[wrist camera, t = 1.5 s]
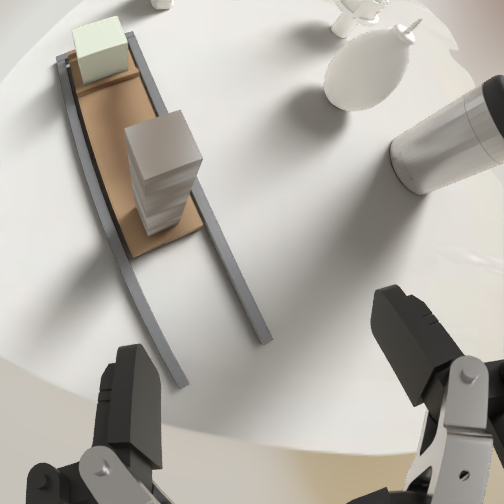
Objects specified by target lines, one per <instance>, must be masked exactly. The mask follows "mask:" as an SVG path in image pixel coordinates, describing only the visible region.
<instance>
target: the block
mask: <svg viewBox="0 0 504 504" xmlns="http://www.w3.org/2000/svg"><path fill="white" fill-rule="evenodd" d="M72 34H73V39H74V45H75V50H76V55H77V60H78V64H79V68H80V72H81V76H82V79H83V83H84V86H86V85H89V84H91V83H94V82H97V81H100V80H103V79H105V78H108V77H111V76H114V75H117V74H120V73H123V72H127V71H128V41H127V39H126V36H125V34H124V31H123V29H122V26H121V24H120V21H119V18H118V16H113V17H110V18H106V19H103V20H100V21H96V22H93V23H90V24H87V25H84V26H81V27H78V28H75V29H72Z"/></svg>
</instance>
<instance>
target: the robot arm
mask: <svg viewBox="0 0 504 504" xmlns="http://www.w3.org/2000/svg"><path fill="white" fill-rule="evenodd" d="M390 156H391V161H392V165H393V167H394V170H395V172H396V174H397V176H398V178H399V179H400V180H401V182H402V183H403V184H404V185H405V186H406V187H407V188H408V189H409V190H410V191H412V192H414V193H416V194H420V195H422V194H426V193H429V192H431V191H434V190H437V189H439V188H442V187H445V186H447V185H450V184H452V183H455V182H457V181H460V180H462V179H465V178H467V177H470V176H472V175H475V174H477V173H480V172H482V171H485V170H487V169H490V168H492V167H495V166H497V165H500V164H502V163H504V76H503V75H497V76H494V77H492V78H491V79H489V80H487V81H486V82H484V83H482V84H481V85H479V86H478V87H476V88H474V89H473V90H471V91H469V92H468V93H466V94H465V95H463V96H461V97H460V98H458V99H457V100H455V101H453V102H452V103H450V104H449V105H447V106H445V107H444V108H442V109H440V110H439V111H437V112H436V113H434V114H432V115H431V116H429V117H428V118H426V119H424V120H423V121H421V122H420V123H418V124H416V125H415V126H413V127H412V128H410V129H408V130H407V131H405V132H404V133H402V134H401V135H399V136H397V137H396V138H395V139H394V140H393V141H392V144H391V147H390ZM371 329H372V333H373V335H374V337H375V339H376V341H377V342H378V344H379V346H380V348H381V349H382V351H383V353H384V354H385V356H386V358H387V360H388V361H389V363H390V365H391V367H392V368H393V370H394V372H395V374H396V376H397V377H398V379H399V381H400V383H401V384H402V386H403V388H404V390H405V392H406V394H407V395H408V397H409V399H410V401H411V403H412V405H413V406H414V407H416V406H418V405H420V404H422V403H425V405H426V407H427V410H426V412H425V417H424V422H423V427H422V431H421V436H420V440H419V444H418V448H417V452H416V456H415V459H414V462H413V464H412V466H411V467H410V470H409V472H408V474H407V477H406V480H405V483H404V487H403V489H402V491H389V492H388V490H387V487H385V488H383V489H380V490H378V491H376V492H373V493H370V494H368V495H365V496H362V497H359V498H357V499H354V500H352V501H350V502H348V503H347V504H483V501H484V496H485V492H486V487H487V481H488V475H489V469H490V463H491V455H492V448H493V446H494V448H495V450H496V453H497V455H498V457H499V459H500V461H501V463H502V466H503V468H504V360H498V361H492V362H486V363H483V362H482V361H481V360H480V359H478V358H476V357H473V356H465V355H464V354H463V353H462V351H461V350H460V349H459V347H458V346H457V345H456V343H455V342H454V341H453V339H452V338H451V337H450V335H449V334H448V333H447V331H446V330H445V329H444V327H443V326H442V325H441V323H439V322H438V319H437V318H436V317H435V316H434V315H432V312H431V311H430V309H429V308H428V307H427V306H426V304H425V303H424V302H423V301H421V300H420V299H418V298H416V297H415V296H413V295H409V296H406V294H405V293H404V292H403V291H402V289H401V288H400V287H399V286H398V285H396V284H395V285H391V286H388V287H385V288H381V289H378V290H376V291H375V293H374V300H373V307H372V314H371ZM99 390H100V393H99V396H98V403H97V411H96V419H95V428H94V437H93V445H92V447H91V448H90V449H88V450H87V451H86V452H85V453H84V454H83V455H82V457H81V459H80V461H79V462H77V463H74V464H71V465H67V466H64V467H61V468H58V469H56V468H55V467H53V466H51V465H50V464H47V463H39V464H37V465H35V466H34V467H33V468H32V469H31V470H30V472H29V474H28V477H27V489H26V504H174V503H173V502H172V500H171V499H170V498H169V497H167V495H166V494H165V493H164V492H163V491H162V490H161V489H160V488H159V487H158V486H157V484H156V483H155V482H154V481H153V480H152V470H155V469H162V449H161V448H162V447H161V383H160V377H159V374H158V371H157V369H156V368H155V366H154V364H153V363H152V361H151V359H150V358H149V356H148V354H147V352H146V351H145V349H144V347H143V346H142V345H141V344H134V345H127V346H121V347H119V348H118V350H117V356H116V363H111V364H108V366H107V368H106V369H105V371H104V373H103V375H102V377H101V383H100V389H99Z"/></svg>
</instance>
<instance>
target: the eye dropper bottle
mask: <svg viewBox="0 0 504 504" xmlns="http://www.w3.org/2000/svg"><path fill="white" fill-rule="evenodd" d="M151 4H152V6H153V7H154V8H155V9H170V8H171V7H172V6H173V4H174V0H151Z"/></svg>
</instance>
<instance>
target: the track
mask: <svg viewBox="0 0 504 504" xmlns="http://www.w3.org/2000/svg"><path fill="white" fill-rule="evenodd" d="M124 34H125V36H126V39H127V41H128V47H129V49H130V52H131V54H132V57H133V59H134V62H135V64H136V67H137V68H138V69H139V74H140V77H141V79H142V82H143V84H144V87H145V89H146V91H147V94H148V96H149V99H150V101H151V103H152V106H153V108H154V111H155V113H156V115H157V117H159V116H162V115H165V114H168V111H167V109H166V107H165V105H164V102H163V100H162V98H161V95H160V93H159V91H158V89H157V86H156V84H155V82H154V79H153V77H152V75H151V72H150V70H149V68H148V65H147V63H146V61H145V59H144V56H143V54H142V51H141V49H140V47H139V44H138V42H137V40H136V37H135V35H134V33H133V31H132V32H128V33H124ZM56 60H57V66H58V71H59V76H60V81H61V86H62V91H63V95H64V100H65V104H66V108H67V113H68V117H69V121H70V124H71V128H72V132H73V136H74V139H75V143H76V147H77V150H78V154H79V157H80V160H81V164H82V167H83V170H84V173H85V176H86V180H87V183H88V186H89V189H90V192H91V195H92V198H93V200H94V203H95V206H96V209H97V212H98V215H99V217H100V220H101V223H102V225H103V228H104V231H105V233H106V236H107V238H108V241H109V244H110V246H111V249H112V251H113V253H114V256H115V258H116V261H117V263H118V266H119V268H120V270H121V273H122V275H123V277H124V280H125V282H126V284H127V286H128V289H129V291H130V293H131V295H132V297H133V300H134V302H135V304H136V306H137V308H138V310H139V312H140V314H141V316H142V319H143V321H144V323H145V325H146V327H147V329H148V331H149V333H150V335H151V337H152V339H153V341H154V343H155V344H156V346H157V348H158V350H159V352H160V354H161V356H162V358H163V360H164V362H165V363H166V365H167V367H168V369H169V371H170V372H171V374H172V376H173V378H174V380H175V381H176V383H177V385H178V387H179V388H180V389H181V388H183V387H185V386H187V385H189V382H188V380H187V379H186V377H185V375H184V373H183V371H182V370H181V368H180V366H179V364H178V362H177V360H176V358H175V357H174V355H173V353H172V351H171V349H170V347H169V345H168V343H167V341H166V339H165V337H164V335H163V334H162V332H161V330H160V328H159V326H158V324H157V321H156V319H155V317H154V315H153V313H152V311H151V309H150V307H149V305H148V303H147V301H146V299H145V296H144V294H143V292H142V290H141V288H140V285H139V283H138V281H137V279H136V277H135V274H134V272H133V270H132V267H131V265H130V263H129V260H128V258H127V256H126V253H125V251H124V248H123V246H122V244H121V241H120V239H119V236H118V234H117V231H116V229H115V226H114V223H113V221H112V218H111V216H110V213H109V210H108V207H107V205H106V202H105V199H104V196H103V194H102V191H101V188H100V185H99V182H98V179H97V176H96V173H95V170H94V167H93V164H92V161H91V158H90V155H89V151H88V148H87V145H86V142H85V138H84V135H83V131H82V128H81V124H80V121H79V117H78V113H77V109H76V106H75V102H74V98H73V94H72V90H71V85H70V81H69V77H68V72H67V67H66V64H67V63H69V59H68V54H67V53H64V54H62V55H59V56H57V57H56ZM190 194H191V196H192V198H193V200H194V203H195V205H196V207H197V209H198V211H199V214H200V216H201V218H202V220H203V222H204V225H205V227H206V229H207V231H208V233H209V236H210V238H211V240H212V242H213V244H214V246H215V249H216V251H217V253H218V255H219V257H220V259H221V261H222V264H223V266H224V268H225V270H226V272H227V274H228V276H229V278H230V281H231V283H232V285H233V287H234V289H235V291H236V293H237V295H238V297H239V299H240V302H241V304H242V306H243V308H244V310H245V312H246V314H247V316H248V318H249V320H250V322H251V324H252V326H253V328H254V330H255V332H256V334H257V337H258V339H259V341H260V343H261V344H264V345H265V344H266V343H268V342H270V341H272V340H273V338H272V336H271V334H270V332H269V330H268V328H267V326H266V324H265V322H264V320H263V318H262V316H261V313H260V311H259V309H258V307H257V305H256V303H255V301H254V299H253V297H252V295H251V292H250V290H249V288H248V286H247V284H246V282H245V280H244V278H243V276H242V273H241V271H240V269H239V267H238V265H237V263H236V261H235V259H234V256H233V254H232V252H231V250H230V248H229V246H228V244H227V241H226V239H225V237H224V235H223V233H222V231H221V229H220V226H219V224H218V222H217V220H216V218H215V216H214V213H213V211H212V209H211V207H210V205H209V203H208V200H207V198H206V196H205V194H204V192H203V189H202V187H201V185H200V183H199V181H198V178H197V176H196V178H195V180H194V183H193V186H192V188H191V191H190Z"/></svg>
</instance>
